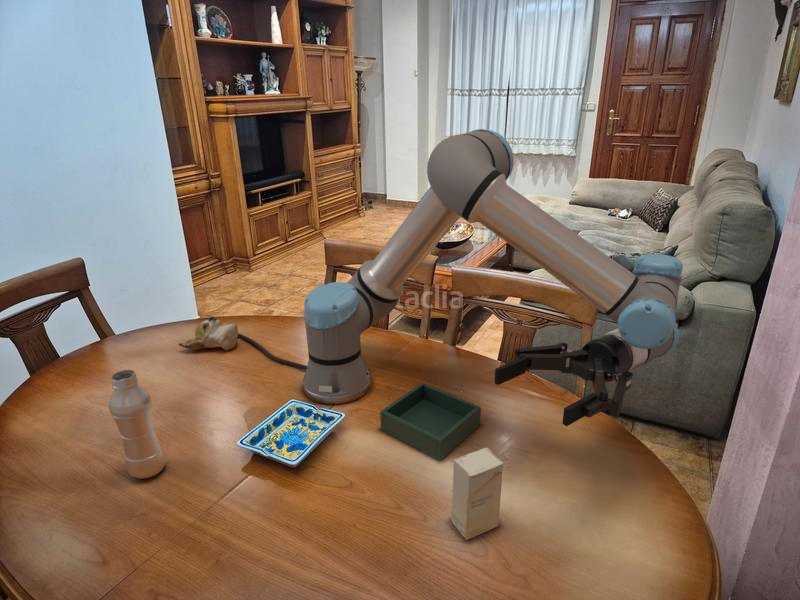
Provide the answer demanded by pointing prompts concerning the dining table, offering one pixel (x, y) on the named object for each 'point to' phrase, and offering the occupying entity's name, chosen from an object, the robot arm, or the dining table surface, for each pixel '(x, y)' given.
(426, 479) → the dining table surface
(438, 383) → the dining table surface
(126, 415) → the plastic bottle
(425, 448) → the tote
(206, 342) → the ceramic sculpture
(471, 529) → the cosmetic box
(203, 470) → the dining table surface
